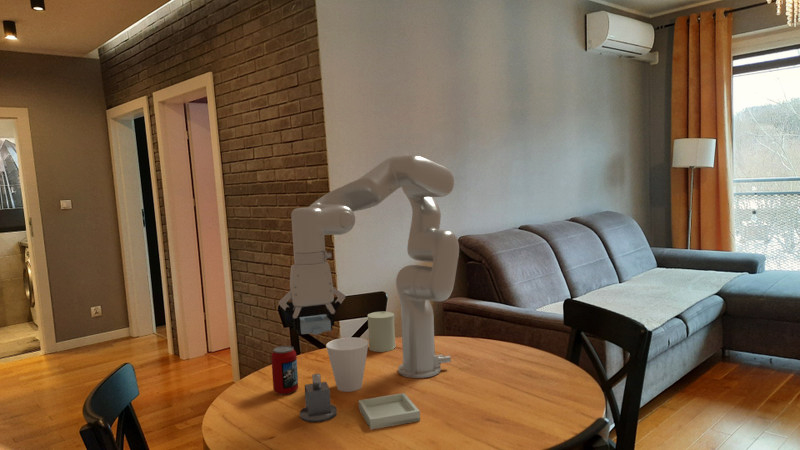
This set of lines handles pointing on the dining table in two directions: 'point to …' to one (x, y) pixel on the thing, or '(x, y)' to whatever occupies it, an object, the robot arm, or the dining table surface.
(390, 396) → the tray
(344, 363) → the cup
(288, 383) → the beverage can
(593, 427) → the dining table surface
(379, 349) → the can
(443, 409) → the dining table surface
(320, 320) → the blue-grey rectangular frame
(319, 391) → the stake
